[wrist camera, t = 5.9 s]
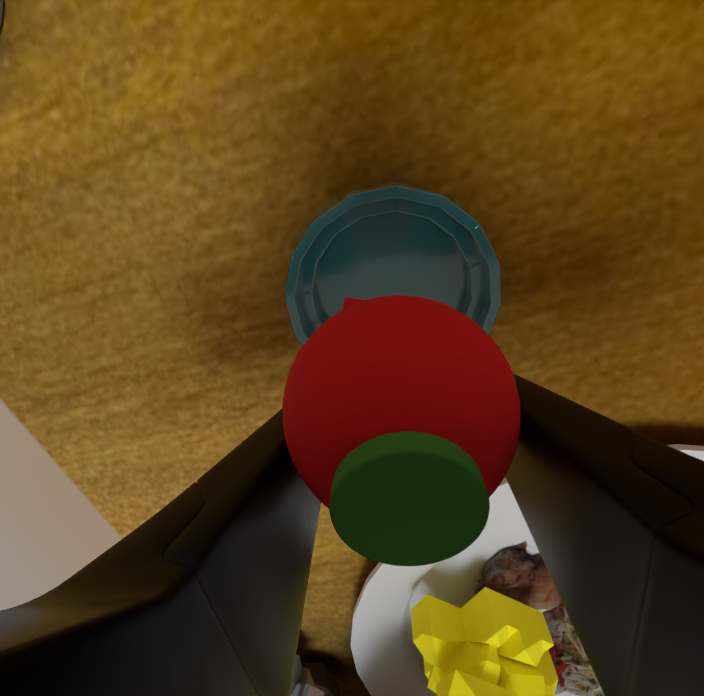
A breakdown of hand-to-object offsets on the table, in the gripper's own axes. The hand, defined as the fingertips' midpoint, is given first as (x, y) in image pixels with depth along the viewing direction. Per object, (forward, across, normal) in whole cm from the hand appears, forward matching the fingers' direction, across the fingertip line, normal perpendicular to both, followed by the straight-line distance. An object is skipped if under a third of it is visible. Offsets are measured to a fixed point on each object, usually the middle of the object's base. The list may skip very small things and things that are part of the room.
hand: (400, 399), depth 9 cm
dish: (+9, 0, 0) cm, 9 cm away
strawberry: (0, 0, -1) cm, 1 cm away
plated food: (+9, -9, +24) cm, 27 cm away
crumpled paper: (+6, -2, +19) cm, 21 cm away
